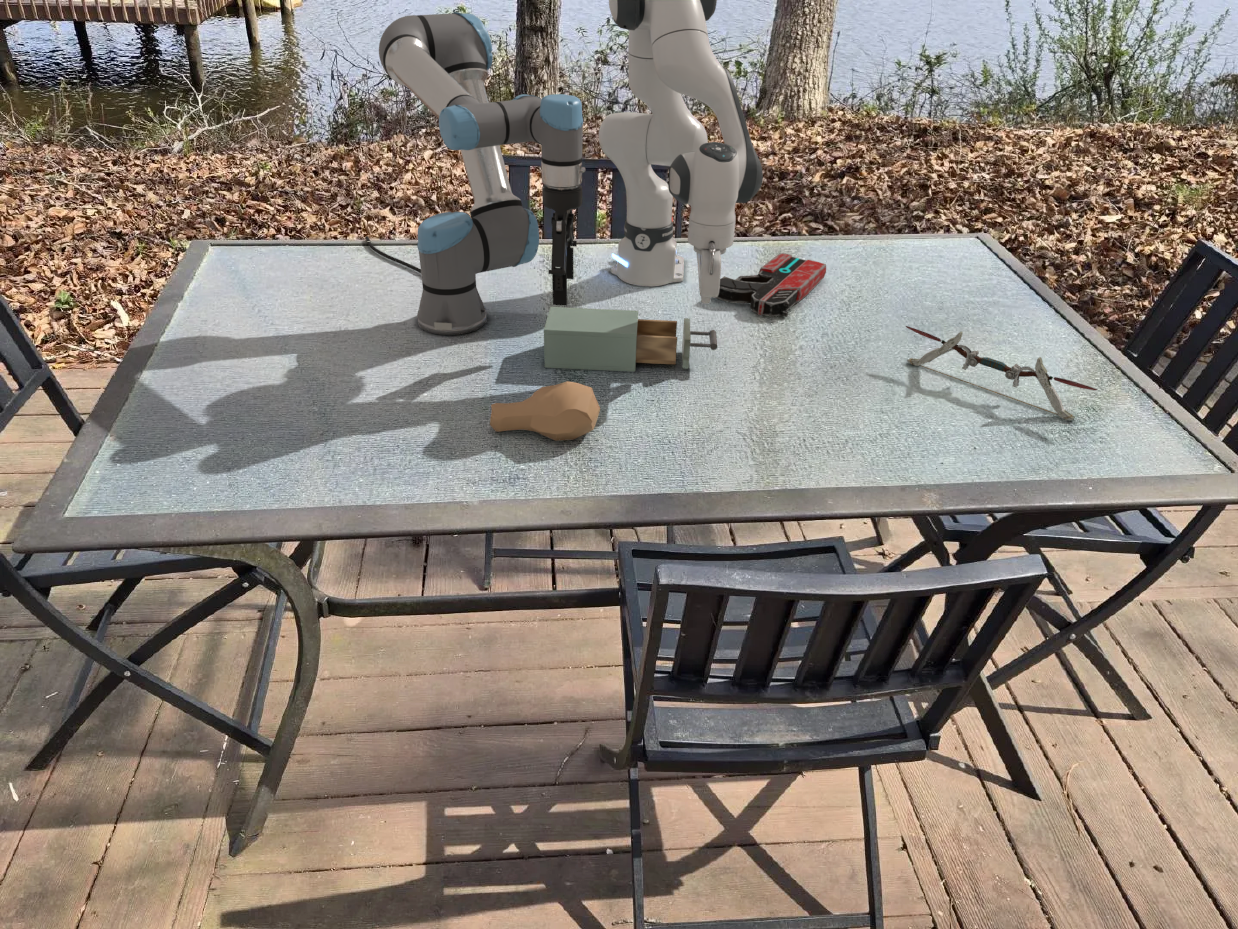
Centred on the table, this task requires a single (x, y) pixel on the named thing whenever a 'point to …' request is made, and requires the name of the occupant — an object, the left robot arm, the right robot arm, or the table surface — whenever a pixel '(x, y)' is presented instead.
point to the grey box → (590, 339)
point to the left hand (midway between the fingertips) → (563, 291)
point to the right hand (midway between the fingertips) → (705, 300)
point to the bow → (1010, 372)
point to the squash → (550, 412)
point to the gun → (774, 285)
